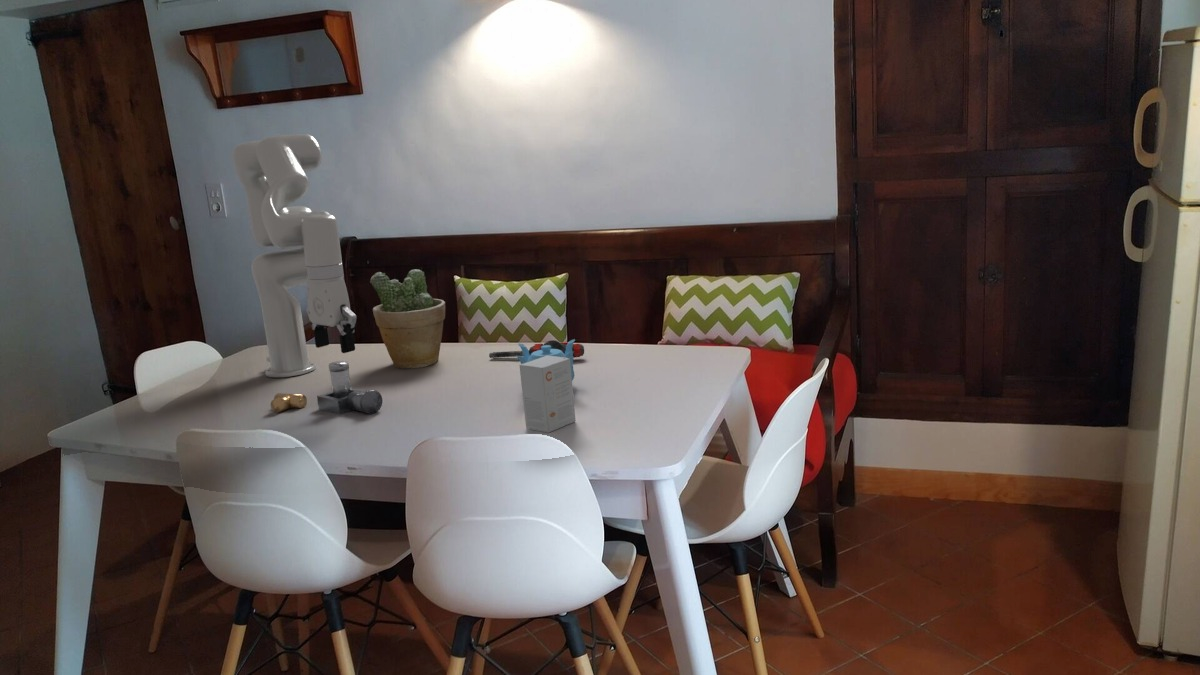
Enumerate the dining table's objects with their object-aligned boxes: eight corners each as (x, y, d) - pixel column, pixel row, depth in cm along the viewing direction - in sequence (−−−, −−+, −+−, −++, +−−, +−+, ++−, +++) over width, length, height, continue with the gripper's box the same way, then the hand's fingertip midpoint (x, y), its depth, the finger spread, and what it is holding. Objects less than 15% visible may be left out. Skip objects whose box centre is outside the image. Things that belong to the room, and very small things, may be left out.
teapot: (519, 400, 202) (514, 355, 200) (522, 384, 215) (518, 341, 213) (578, 395, 203) (574, 350, 200) (578, 379, 215) (574, 336, 213)
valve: (598, 358, 242) (577, 365, 228) (508, 362, 252) (482, 368, 238) (596, 334, 242) (575, 339, 228) (506, 338, 251) (480, 343, 237)
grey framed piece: (318, 409, 208) (315, 387, 207) (349, 399, 214) (346, 378, 212) (358, 418, 198) (355, 395, 197) (389, 408, 204) (386, 386, 203)
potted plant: (418, 352, 257) (407, 262, 251) (467, 357, 246) (456, 263, 240) (365, 368, 242) (353, 273, 237) (415, 375, 231) (403, 275, 226)
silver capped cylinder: (331, 407, 208) (324, 364, 206) (346, 402, 211) (340, 360, 209) (341, 410, 205) (335, 366, 203) (357, 405, 208) (351, 361, 206)
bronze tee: (307, 405, 211) (305, 393, 211) (288, 413, 206) (286, 400, 205) (284, 404, 214) (282, 391, 214) (265, 411, 209) (262, 399, 208)
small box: (553, 417, 188) (547, 354, 185) (576, 421, 184) (571, 357, 181) (524, 428, 182) (518, 364, 180) (548, 433, 178) (542, 367, 175)
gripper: (287, 272, 204) (298, 348, 209) (333, 278, 193) (344, 358, 198) (317, 266, 210) (327, 340, 214) (363, 272, 199) (373, 349, 203)
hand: (335, 348), depth 206 cm, fingers open, 9 cm apart
